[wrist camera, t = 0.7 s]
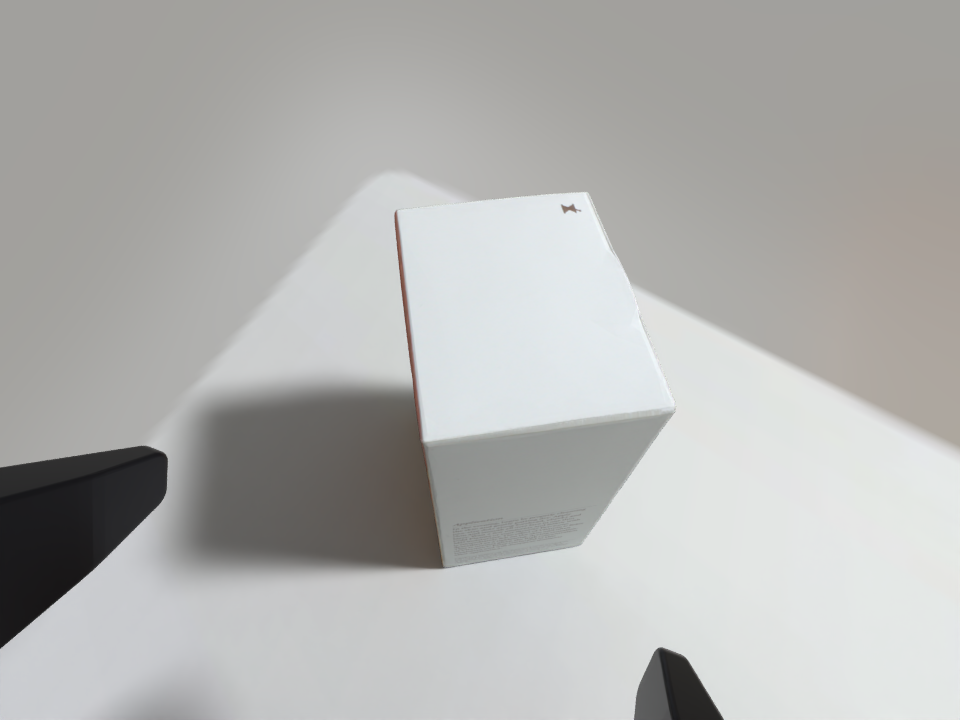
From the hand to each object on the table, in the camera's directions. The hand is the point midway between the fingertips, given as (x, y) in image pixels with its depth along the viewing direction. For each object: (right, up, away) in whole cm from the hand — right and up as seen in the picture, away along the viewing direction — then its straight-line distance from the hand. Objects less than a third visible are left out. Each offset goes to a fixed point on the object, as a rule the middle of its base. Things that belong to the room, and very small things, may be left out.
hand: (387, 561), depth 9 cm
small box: (+2, -2, +16) cm, 17 cm away
